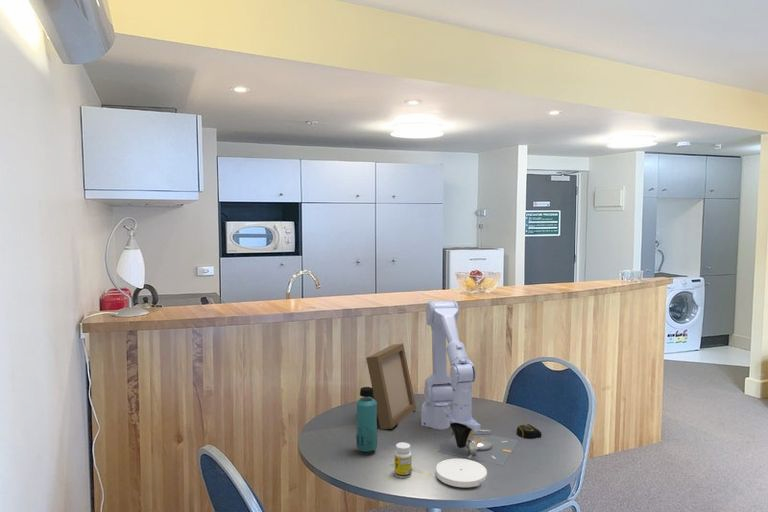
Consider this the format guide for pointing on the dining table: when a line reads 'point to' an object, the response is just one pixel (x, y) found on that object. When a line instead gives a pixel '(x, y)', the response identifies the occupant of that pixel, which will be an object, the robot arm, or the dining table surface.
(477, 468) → the plastic lid
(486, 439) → the silver rounded piece
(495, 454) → the panel
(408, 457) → the supplement bottle
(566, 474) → the dining table surface
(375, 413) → the beverage bottle
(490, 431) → the screwdriver
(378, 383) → the photo frame
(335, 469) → the dining table surface
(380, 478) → the dining table surface
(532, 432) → the tape measure
